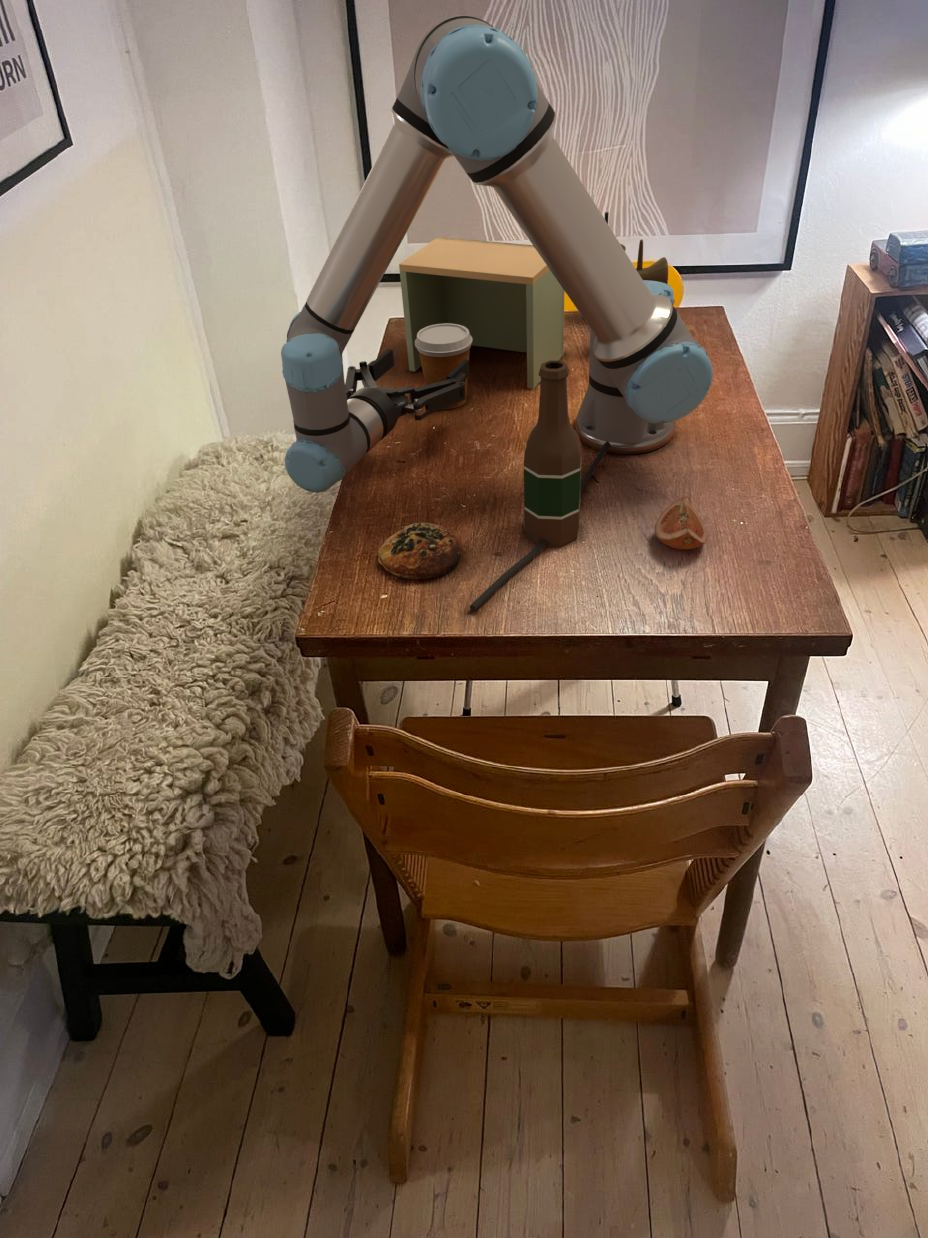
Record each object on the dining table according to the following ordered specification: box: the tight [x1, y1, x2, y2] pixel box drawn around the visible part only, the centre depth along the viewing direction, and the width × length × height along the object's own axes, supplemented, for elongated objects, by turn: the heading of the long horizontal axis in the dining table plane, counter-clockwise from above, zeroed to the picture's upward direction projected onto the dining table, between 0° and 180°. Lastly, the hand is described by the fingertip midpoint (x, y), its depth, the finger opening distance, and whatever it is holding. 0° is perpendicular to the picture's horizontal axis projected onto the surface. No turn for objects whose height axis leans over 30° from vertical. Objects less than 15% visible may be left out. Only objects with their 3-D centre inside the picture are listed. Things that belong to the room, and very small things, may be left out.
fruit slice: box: [654, 496, 708, 550], centre depth 118 cm, size 8×7×5 cm
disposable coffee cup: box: [415, 323, 473, 410], centre depth 152 cm, size 10×10×12 cm
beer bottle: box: [523, 360, 583, 548], centre depth 116 cm, size 8×8×24 cm
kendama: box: [635, 239, 669, 285], centre depth 162 cm, size 6×10×20 cm, turn 89°
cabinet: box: [398, 236, 566, 390], centre depth 162 cm, size 15×24×19 cm, turn 65°
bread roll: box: [377, 522, 462, 580], centre depth 120 cm, size 11×11×5 cm
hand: (428, 362), depth 146 cm, fingers open, 13 cm apart
